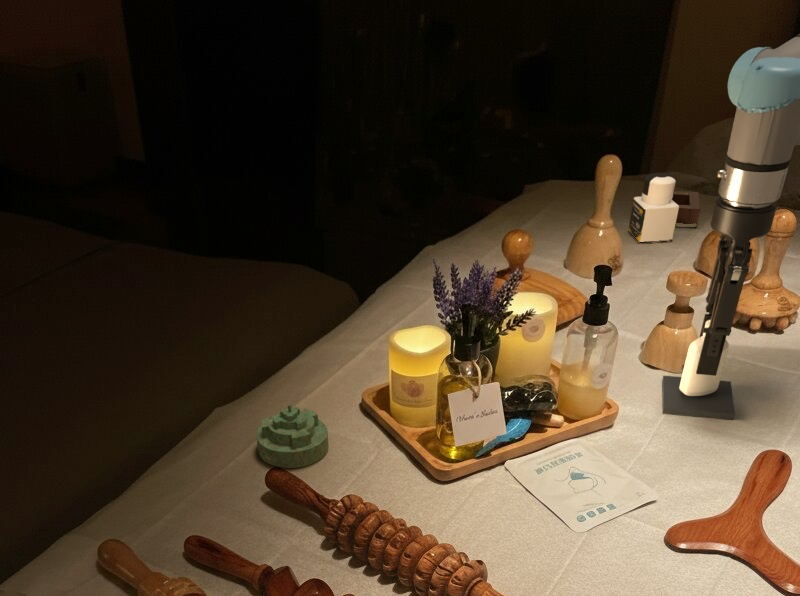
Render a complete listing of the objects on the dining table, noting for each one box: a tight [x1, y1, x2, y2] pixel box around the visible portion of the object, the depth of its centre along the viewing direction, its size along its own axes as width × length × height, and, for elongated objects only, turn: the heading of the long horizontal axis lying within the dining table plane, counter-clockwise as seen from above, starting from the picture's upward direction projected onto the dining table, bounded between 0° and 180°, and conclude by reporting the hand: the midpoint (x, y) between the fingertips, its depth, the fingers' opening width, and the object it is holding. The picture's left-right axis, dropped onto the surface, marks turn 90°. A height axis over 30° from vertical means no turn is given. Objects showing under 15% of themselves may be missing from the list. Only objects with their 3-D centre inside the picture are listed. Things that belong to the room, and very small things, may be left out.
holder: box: [672, 190, 701, 225], centre depth 188 cm, size 11×11×4 cm
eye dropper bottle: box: [679, 320, 730, 396], centre depth 126 cm, size 4×6×12 cm
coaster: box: [661, 375, 736, 421], centre depth 131 cm, size 10×10×1 cm
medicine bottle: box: [627, 172, 679, 243], centre depth 178 cm, size 7×7×12 cm
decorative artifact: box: [256, 403, 330, 469], centre depth 122 cm, size 10×7×10 cm
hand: (705, 365), depth 128 cm, fingers closed on eye dropper bottle, 4 cm apart
